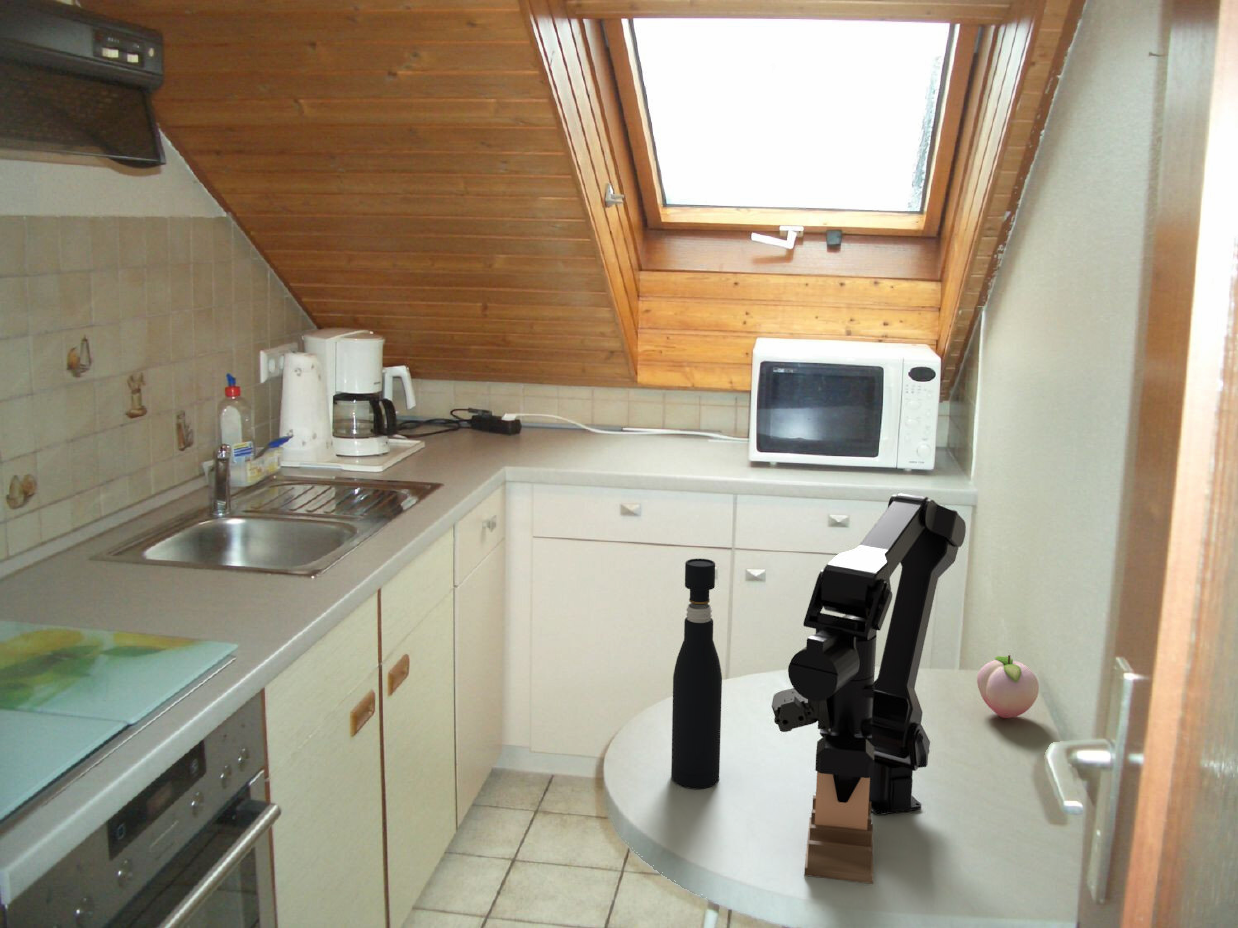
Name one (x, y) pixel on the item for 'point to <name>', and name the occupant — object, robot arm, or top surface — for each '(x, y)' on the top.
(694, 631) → the wine bottle
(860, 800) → the block
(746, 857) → the top surface
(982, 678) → the decorative fruit
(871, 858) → the rack
